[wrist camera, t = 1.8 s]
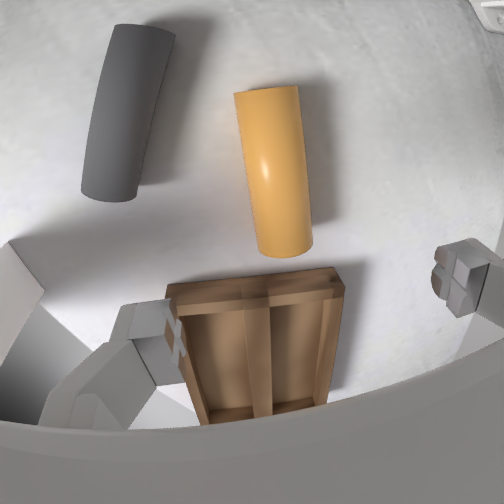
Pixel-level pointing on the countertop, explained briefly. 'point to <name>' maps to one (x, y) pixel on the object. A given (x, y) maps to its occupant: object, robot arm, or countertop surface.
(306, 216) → the orange rod
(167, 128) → the countertop surface
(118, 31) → the charcoal rod
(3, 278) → the milk
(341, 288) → the slot rack
